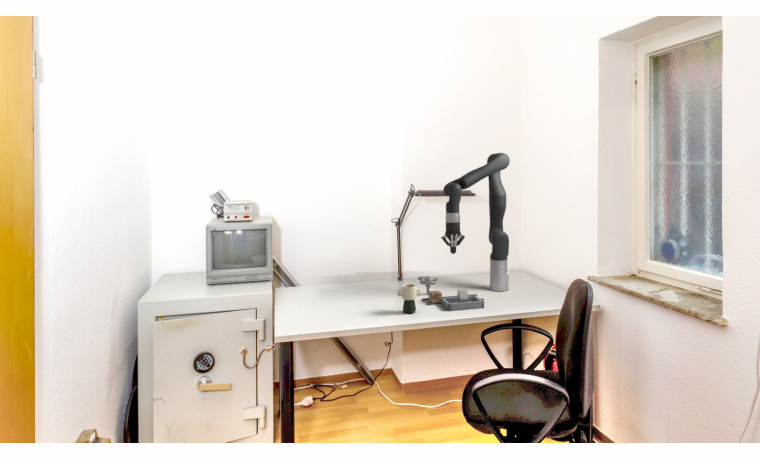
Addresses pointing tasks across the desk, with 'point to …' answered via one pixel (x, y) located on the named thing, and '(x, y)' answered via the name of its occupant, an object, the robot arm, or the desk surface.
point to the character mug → (409, 297)
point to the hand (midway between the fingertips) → (453, 253)
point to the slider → (435, 296)
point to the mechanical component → (427, 282)
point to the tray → (452, 303)
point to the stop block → (462, 296)
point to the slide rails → (443, 297)
